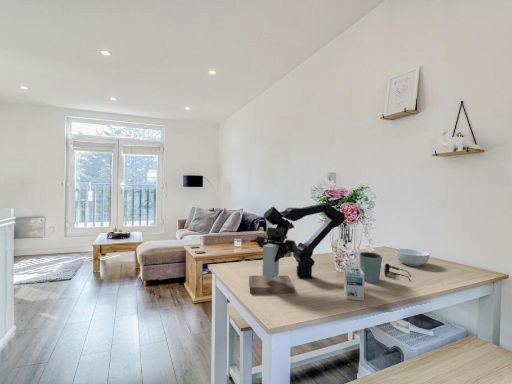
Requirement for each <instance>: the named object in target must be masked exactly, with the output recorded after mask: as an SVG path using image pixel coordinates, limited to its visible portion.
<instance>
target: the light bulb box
mask: <svg viewBox="0 0 512 384" xmlns="http://www.w3.org/2000/svg"><path fill="white" fill-rule="evenodd" d="M343 269H344V271H343V272H344V275H343V276H344V278H343V291H344V295H345V298H346V300H351V301H352V300H354V301H364V300H365V282H364V275H365V274H364V272H363V271H362V269H361V267H360V265H351V264H349V265H348V264H344V267H343Z"/></svg>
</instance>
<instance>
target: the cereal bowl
mask: <svg viewBox="0 0 512 384" xmlns="http://www.w3.org/2000/svg"><path fill="white" fill-rule="evenodd" d="M394 254H395V258H396V260H398V261H399V262H401V263H403V264H404V265H407V266H411V267H420V266H421V265H425V264H427V263H428V262H429V260H430V253H429V252H427V251H424V250H423V251H422V250H419V249H413V248H398V249H397V248H396V249H395V250H394Z"/></svg>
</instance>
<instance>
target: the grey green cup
mask: <svg viewBox="0 0 512 384" xmlns="http://www.w3.org/2000/svg"><path fill="white" fill-rule="evenodd" d="M358 255H359V266H360V267H361V269H362V271H363V272H364V274H365V275H364V283H370V284H377V283H379V282H380V277H381V270H382V262H383V255H381V254H379V253H377V252H372V251H371V252H369V251H362V252H360V253H359V254H358Z"/></svg>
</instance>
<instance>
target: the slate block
mask: <svg viewBox="0 0 512 384" xmlns="http://www.w3.org/2000/svg"><path fill="white" fill-rule="evenodd" d="M278 250H279V245H275V244H267V245H264V246H263V248H262V276H266V277H270V278H274V277H275V276H279V269H280V268H279V267H280V266H279V265H280V263H279V261H280V259H279V260H278V261H277V262H275V261H274V260H275V257H276V255H277V252H278Z"/></svg>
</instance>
